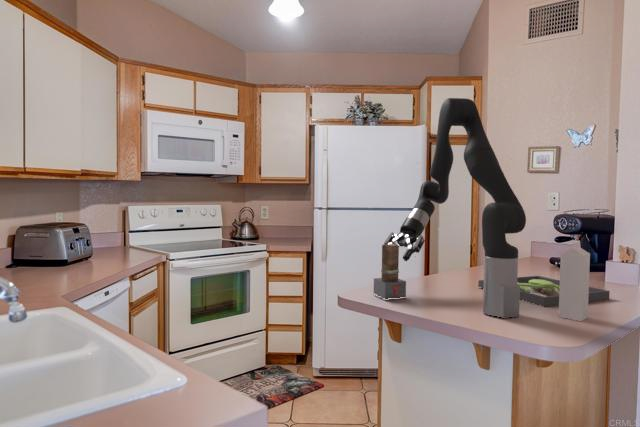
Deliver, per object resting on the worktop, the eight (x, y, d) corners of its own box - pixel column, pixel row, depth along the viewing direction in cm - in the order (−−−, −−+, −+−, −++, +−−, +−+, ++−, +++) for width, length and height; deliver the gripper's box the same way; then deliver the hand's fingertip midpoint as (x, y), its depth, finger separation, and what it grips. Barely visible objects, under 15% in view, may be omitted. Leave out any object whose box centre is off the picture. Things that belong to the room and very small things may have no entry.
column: (398, 279, 153) (399, 245, 152) (390, 281, 150) (391, 246, 150) (388, 278, 156) (389, 244, 156) (381, 279, 153) (381, 244, 153)
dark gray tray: (609, 299, 153) (609, 291, 153) (543, 306, 142) (544, 297, 142) (537, 283, 181) (537, 275, 181) (478, 288, 170) (478, 280, 170)
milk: (587, 318, 130) (591, 242, 129) (580, 321, 126) (584, 244, 125) (565, 313, 134) (568, 240, 133) (557, 317, 130) (561, 242, 129)
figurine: (515, 301, 151) (515, 285, 150) (506, 285, 176) (506, 271, 176) (576, 306, 145) (577, 289, 145) (558, 289, 171) (558, 274, 171)
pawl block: (406, 299, 151) (406, 281, 150) (385, 300, 148) (385, 282, 148) (393, 293, 158) (393, 277, 158) (373, 295, 156) (373, 278, 155)
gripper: (395, 215, 165) (373, 249, 158) (427, 217, 154) (406, 253, 147) (403, 229, 169) (383, 262, 162) (436, 232, 158) (415, 267, 151)
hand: (394, 258), depth 154 cm, fingers open, 8 cm apart
